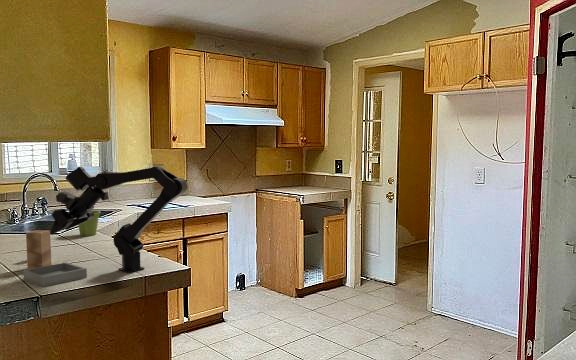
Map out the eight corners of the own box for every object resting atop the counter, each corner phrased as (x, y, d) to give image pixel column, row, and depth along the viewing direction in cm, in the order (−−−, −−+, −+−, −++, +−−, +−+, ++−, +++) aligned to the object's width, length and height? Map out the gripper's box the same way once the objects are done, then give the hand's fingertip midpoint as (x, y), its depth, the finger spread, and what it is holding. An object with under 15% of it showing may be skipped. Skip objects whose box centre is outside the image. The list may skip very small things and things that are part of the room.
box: (86, 277, 162) (86, 268, 161) (43, 286, 151) (42, 277, 151) (66, 270, 171) (66, 262, 170) (23, 279, 160) (23, 270, 160)
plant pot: (86, 238, 232) (85, 214, 231) (69, 235, 238) (69, 212, 237) (106, 234, 242) (106, 211, 242) (90, 232, 248) (89, 209, 248)
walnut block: (51, 266, 177) (50, 230, 177) (42, 270, 172) (40, 233, 171) (37, 265, 178) (35, 230, 177) (27, 269, 173) (26, 232, 172)
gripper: (85, 181, 181) (57, 211, 183) (56, 186, 162) (25, 218, 164) (106, 203, 181) (78, 232, 182) (79, 210, 162) (49, 242, 164)
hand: (58, 231), depth 173 cm, fingers open, 9 cm apart
